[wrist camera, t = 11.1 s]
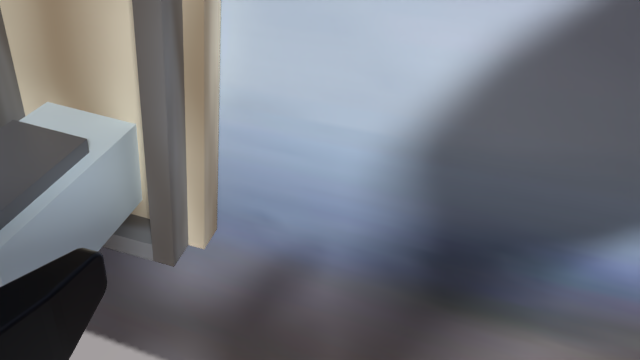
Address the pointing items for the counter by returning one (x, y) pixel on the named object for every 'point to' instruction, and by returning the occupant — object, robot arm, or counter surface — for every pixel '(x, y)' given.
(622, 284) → the counter surface
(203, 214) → the rail
